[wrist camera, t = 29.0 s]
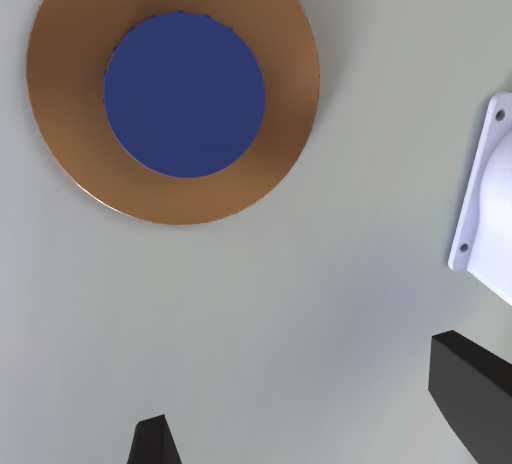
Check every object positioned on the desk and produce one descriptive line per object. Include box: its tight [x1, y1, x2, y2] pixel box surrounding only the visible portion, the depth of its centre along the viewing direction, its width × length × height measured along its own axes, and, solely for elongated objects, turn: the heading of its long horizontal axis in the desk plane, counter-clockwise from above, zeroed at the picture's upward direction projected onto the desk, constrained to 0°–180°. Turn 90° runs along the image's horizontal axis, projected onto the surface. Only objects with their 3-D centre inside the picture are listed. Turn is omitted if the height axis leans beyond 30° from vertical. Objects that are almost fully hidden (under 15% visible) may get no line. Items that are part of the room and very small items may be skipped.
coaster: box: [26, 0, 320, 225], centre depth 17 cm, size 11×11×1 cm
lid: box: [102, 10, 265, 178], centre depth 16 cm, size 6×6×2 cm
